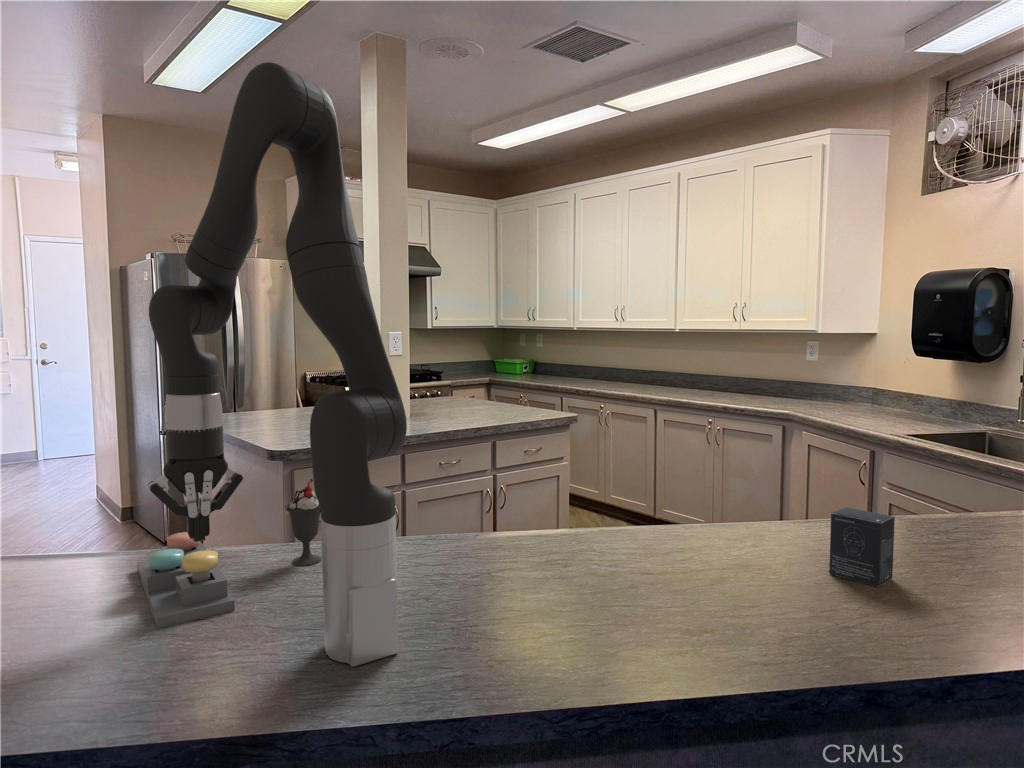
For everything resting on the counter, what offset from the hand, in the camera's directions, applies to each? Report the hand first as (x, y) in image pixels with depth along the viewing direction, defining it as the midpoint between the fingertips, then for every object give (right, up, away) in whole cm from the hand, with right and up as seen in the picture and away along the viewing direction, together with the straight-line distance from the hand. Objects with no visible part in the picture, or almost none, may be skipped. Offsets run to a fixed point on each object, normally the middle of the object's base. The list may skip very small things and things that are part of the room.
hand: (199, 539), depth 96 cm
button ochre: (0, -7, 0) cm, 7 cm away
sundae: (+10, -8, +19) cm, 23 cm away
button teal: (-7, -7, +5) cm, 12 cm away
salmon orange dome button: (-9, -7, +14) cm, 18 cm away
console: (-6, -9, +6) cm, 13 cm away
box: (+104, -9, +11) cm, 104 cm away
